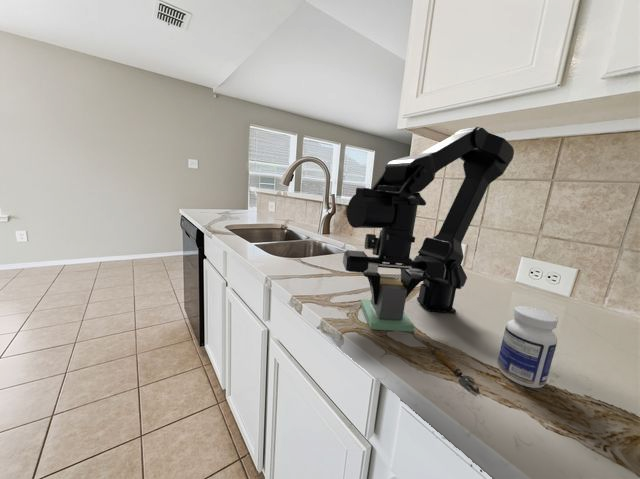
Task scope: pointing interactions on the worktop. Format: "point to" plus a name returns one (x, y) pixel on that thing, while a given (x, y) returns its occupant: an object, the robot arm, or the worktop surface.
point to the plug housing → (390, 298)
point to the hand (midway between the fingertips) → (386, 304)
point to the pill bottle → (528, 347)
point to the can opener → (456, 372)
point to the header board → (385, 320)
